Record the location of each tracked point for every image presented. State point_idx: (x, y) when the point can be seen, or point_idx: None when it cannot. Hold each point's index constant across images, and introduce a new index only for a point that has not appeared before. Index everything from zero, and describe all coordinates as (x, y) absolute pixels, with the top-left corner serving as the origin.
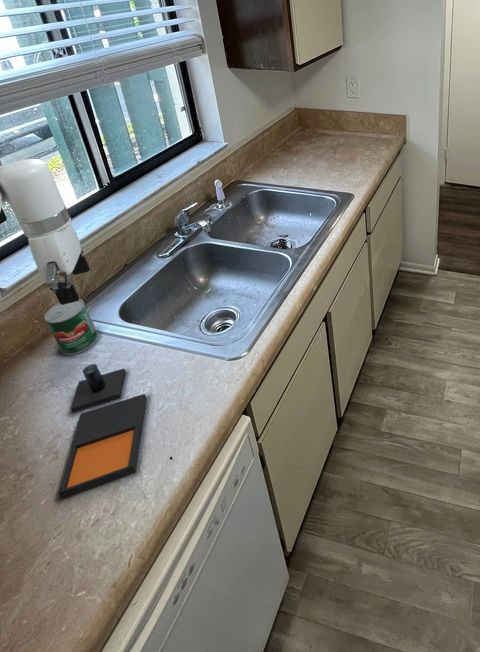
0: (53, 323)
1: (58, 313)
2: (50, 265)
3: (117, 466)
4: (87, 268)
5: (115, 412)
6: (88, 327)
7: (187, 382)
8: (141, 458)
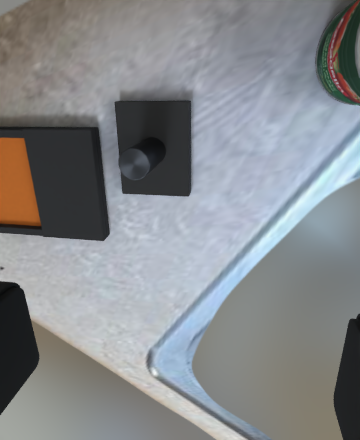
0: None
1: None
2: None
3: None
4: (341, 430)
5: (75, 195)
6: (358, 103)
7: (124, 293)
8: None
